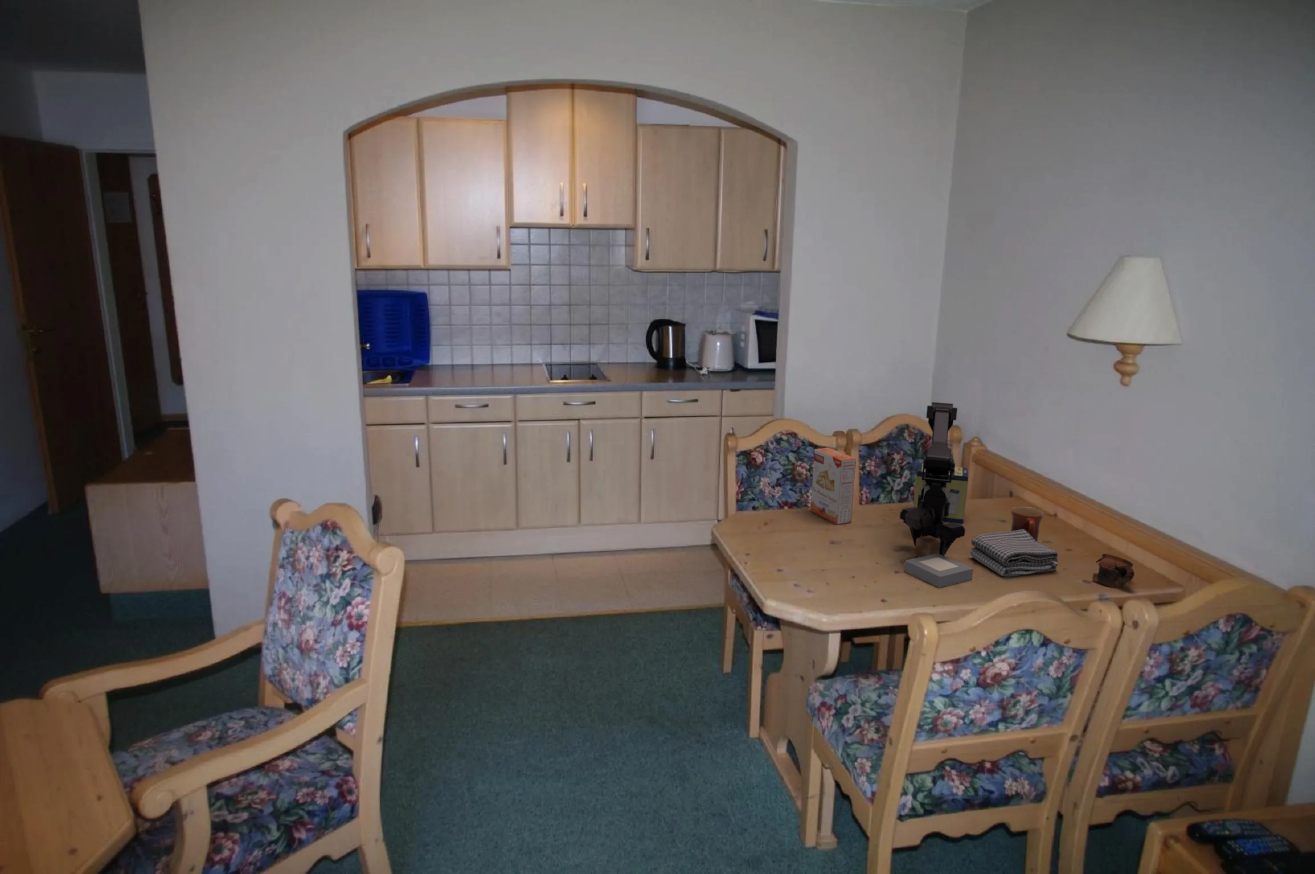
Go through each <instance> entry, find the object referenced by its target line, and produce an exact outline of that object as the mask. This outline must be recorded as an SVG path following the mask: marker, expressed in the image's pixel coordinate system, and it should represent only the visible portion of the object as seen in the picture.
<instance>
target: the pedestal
mask: <svg viewBox="0 0 1315 874" xmlns="http://www.w3.org/2000/svg"><path fill="white" fill-rule="evenodd" d="M903 571H904V573H908V574H909V575H911V576H914V577H915V578H918V579H920V580H921V581H923V582H926V583H928V584H930V585H932V586H934V587H937V588H938V589H940V588H943V587H948V586H951V585H956V584H960V583H964V582H967V581H972V580H973V574H974V568H972V567H971V566H969V565H966V564H964V563H962V562H959V561H956V560H955V559H952V558H950V557H947V556H945V555H944V556H943V555H941V554H939V553H936V554H932V555H928V556H923V557H919V556H918V557H916V558H910V559H906V560H904V570H903Z"/></svg>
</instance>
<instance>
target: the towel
mask: <svg viewBox="0 0 1315 874" xmlns="http://www.w3.org/2000/svg"><path fill="white" fill-rule="evenodd" d="M970 541H971V542H970V543H971V545H972V546H973V547H972V548H971V549H970V551H969V554H970V556H971V557H972V558H974V559H975V560H976V561H977V562H979V563H981V564H982V565H984V566H986V567H988V568H989V569H990V570H992V571H994V572H996V573H997V574H998V575H1000V576H1002V577H1006V578H1007V577H1008V578H1011V577H1017V576H1018V577H1019V576H1026V575H1031V574H1032V575H1033V574H1037V573H1045V572H1055V571H1056V570H1057V567H1058V566H1059V562H1058V561H1059V560H1058V557H1059V553H1058V552H1057V551H1056V550H1054V549H1052V548H1050V547H1048V546H1046V545H1045V544H1042V543H1040V542H1038V541H1037V542H1036V541H1035V540H1034V539H1033V538H1032V536H1031V535H1030V534H1029V533H1028V532H1027V531H1026V530H1024V529H1022V530H1016V531H1011V530H1010V531H998V532H992V533H991V532H990V533H982V534H978V535H976V536H975V537H974V538H972V540H970Z"/></svg>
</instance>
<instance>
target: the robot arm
mask: <svg viewBox="0 0 1315 874" xmlns="http://www.w3.org/2000/svg"><path fill="white" fill-rule="evenodd" d="M925 415H926V416H925V417H926V419H928V420H927V422H928V423H927V424H928V426H929V428H930V430H931V432H932V434H931V444H930V446H928V447H927V449H926V456H925V455H924V456H923V462H922V463H923V470H922V480H925V485H924V487H923V488H922V490H921V495H918V504H917V508H916V507H912V506H911V507H908V508H907V507H906V508H902V510H901V511H900V513H899V519H900V520H902V523H904V524H906V525H907V527H908V529H909V530H910V534H911V539H912V542H913V545H914V547H915V548H916V539H917V538H920V537H924V536H929V535H930V536H932V537H935V538H938V539H939V540H940V551H939V554H941V555H943V556H945V555H946V553H947V552H948V551H949V549H950V547H951V546H952V545H953V543H954V542H955V541H956V540H957V539H960V538H962V537H965V534H966V528H965V527H964V525H962V524H959V523H954V522H952V523H951V522H943V521H946V517H947V516H948V515H949V507H950V502H949V501H948V498H947V497H946V487H947V483H951V481H952V479H954V472H955V467H956V463H955V461H954V459H953V458H951V457H952V450H951V449H950V448H949V446H948V438H949V431H950V429H951V428H952V427H953V425H954V421H957V415H958V407H954V403H950V402H948V403H947V402H938V401H937V402H936V401H935V402H934V401H932V402H931V405H927V406H926V414H925ZM924 470H925V472H926V473H927V474H926V476H924ZM949 472H950V476H949V478H948V476H943V475H949Z"/></svg>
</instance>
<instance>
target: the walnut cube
mask: <svg viewBox="0 0 1315 874" xmlns="http://www.w3.org/2000/svg"><path fill="white" fill-rule="evenodd" d="M914 549H915V550H914V556H917V557H918V558H919V557H923V556H928V555H932V554H936V553H939V551H940V539H939V538H938V537H932V536H930V535H929V536H921V537H920V538H917V539H916V547H915V548H914Z"/></svg>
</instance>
